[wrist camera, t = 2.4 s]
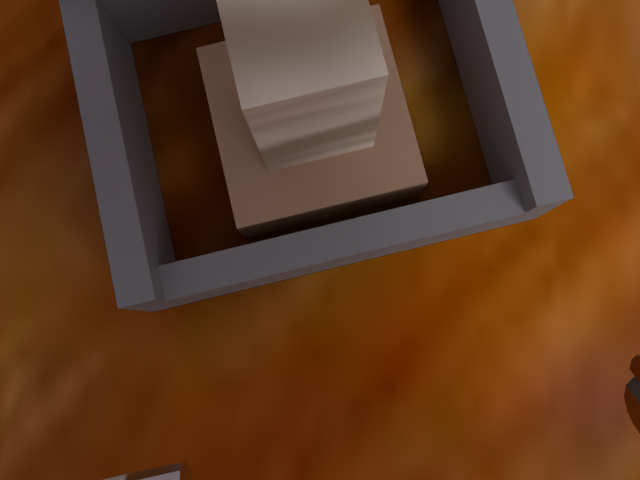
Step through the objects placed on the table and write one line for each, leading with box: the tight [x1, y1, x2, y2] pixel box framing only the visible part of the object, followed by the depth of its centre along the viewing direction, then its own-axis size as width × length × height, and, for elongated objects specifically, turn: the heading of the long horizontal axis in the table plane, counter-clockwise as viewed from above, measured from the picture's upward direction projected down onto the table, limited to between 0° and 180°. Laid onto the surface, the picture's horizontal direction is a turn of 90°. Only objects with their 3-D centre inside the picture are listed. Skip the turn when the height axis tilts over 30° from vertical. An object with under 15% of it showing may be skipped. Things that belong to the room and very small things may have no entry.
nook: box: [59, 0, 574, 312], centre depth 28 cm, size 16×20×7 cm
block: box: [216, 0, 389, 172], centre depth 24 cm, size 4×5×8 cm
